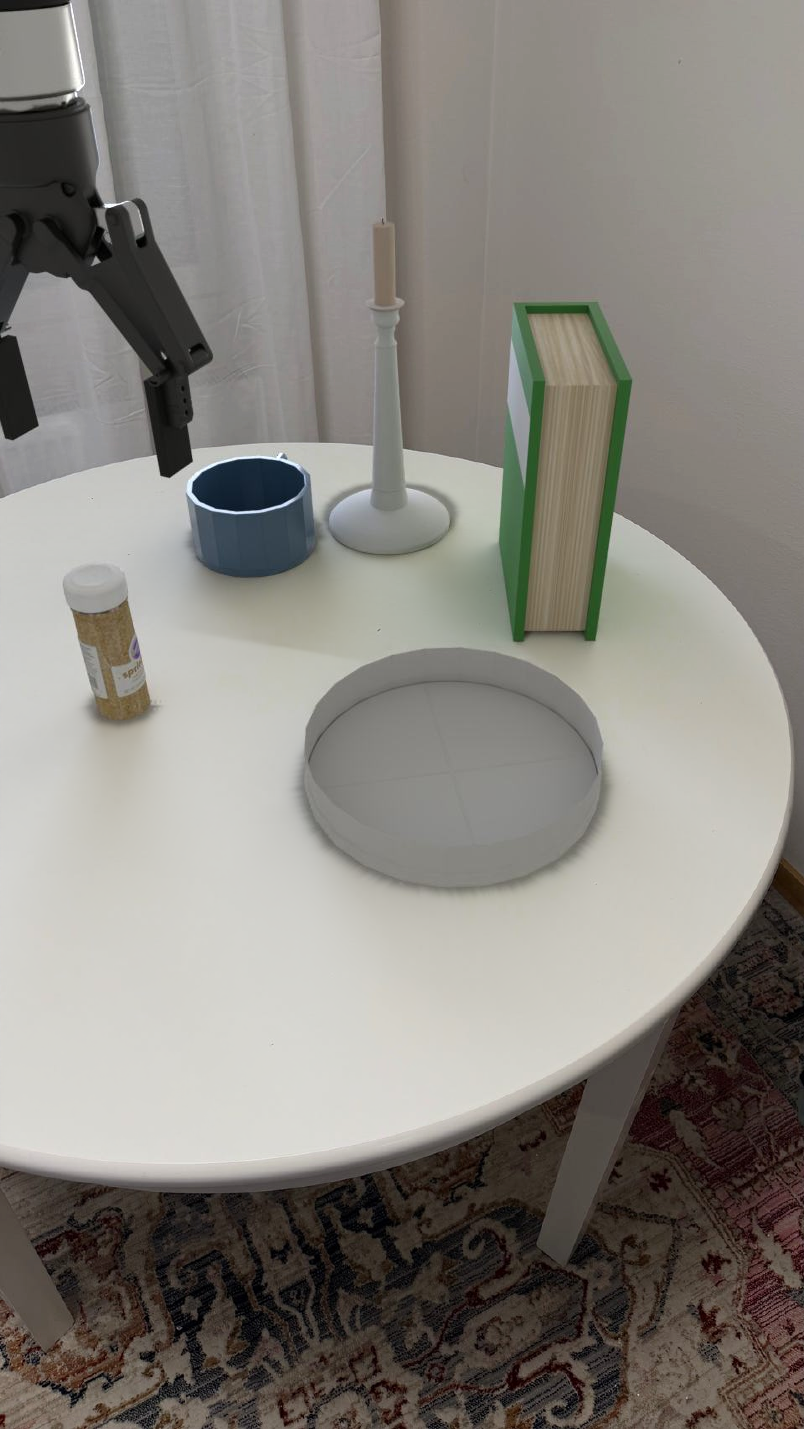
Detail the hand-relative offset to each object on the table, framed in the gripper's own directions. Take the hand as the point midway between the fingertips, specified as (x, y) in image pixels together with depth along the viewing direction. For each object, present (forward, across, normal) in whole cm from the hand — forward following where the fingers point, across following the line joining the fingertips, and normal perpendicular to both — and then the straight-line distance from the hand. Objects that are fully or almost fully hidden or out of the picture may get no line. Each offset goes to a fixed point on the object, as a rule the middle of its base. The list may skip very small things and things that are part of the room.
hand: (97, 450), depth 70 cm
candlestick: (+23, -5, -35) cm, 42 cm away
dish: (+23, -27, -1) cm, 35 cm away
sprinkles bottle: (+23, +1, +2) cm, 23 cm away
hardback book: (+23, -24, -30) cm, 45 cm away
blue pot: (+22, +6, -27) cm, 35 cm away
